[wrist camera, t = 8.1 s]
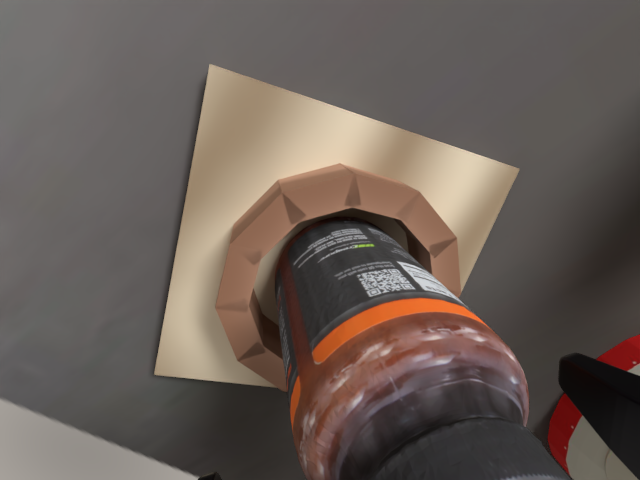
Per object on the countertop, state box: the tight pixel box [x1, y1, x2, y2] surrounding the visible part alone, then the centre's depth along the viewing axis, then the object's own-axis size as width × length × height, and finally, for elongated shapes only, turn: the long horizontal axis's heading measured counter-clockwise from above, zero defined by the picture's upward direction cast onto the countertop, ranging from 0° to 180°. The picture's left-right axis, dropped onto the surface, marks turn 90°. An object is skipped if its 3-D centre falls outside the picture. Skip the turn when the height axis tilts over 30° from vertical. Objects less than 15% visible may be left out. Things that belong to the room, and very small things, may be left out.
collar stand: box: [154, 64, 519, 392], centre depth 15 cm, size 14×14×3 cm
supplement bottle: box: [275, 216, 571, 480], centre depth 11 cm, size 6×6×11 cm
